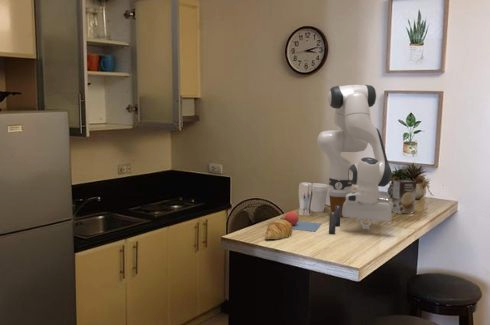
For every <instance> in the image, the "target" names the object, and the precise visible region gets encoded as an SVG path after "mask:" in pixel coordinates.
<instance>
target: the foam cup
mask: <svg viewBox="0 0 490 325" xmlns="http://www.w3.org/2000/svg"><path fill="white" fill-rule="evenodd" d="M328 186H329V184H327V183H326V184H325V183H318V182H317V183H315V182H313V198H312V203H311V212H314V213H324V211H325V208H326V207H325V206H326V204H325V202H326V196H327V191H328Z"/></svg>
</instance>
